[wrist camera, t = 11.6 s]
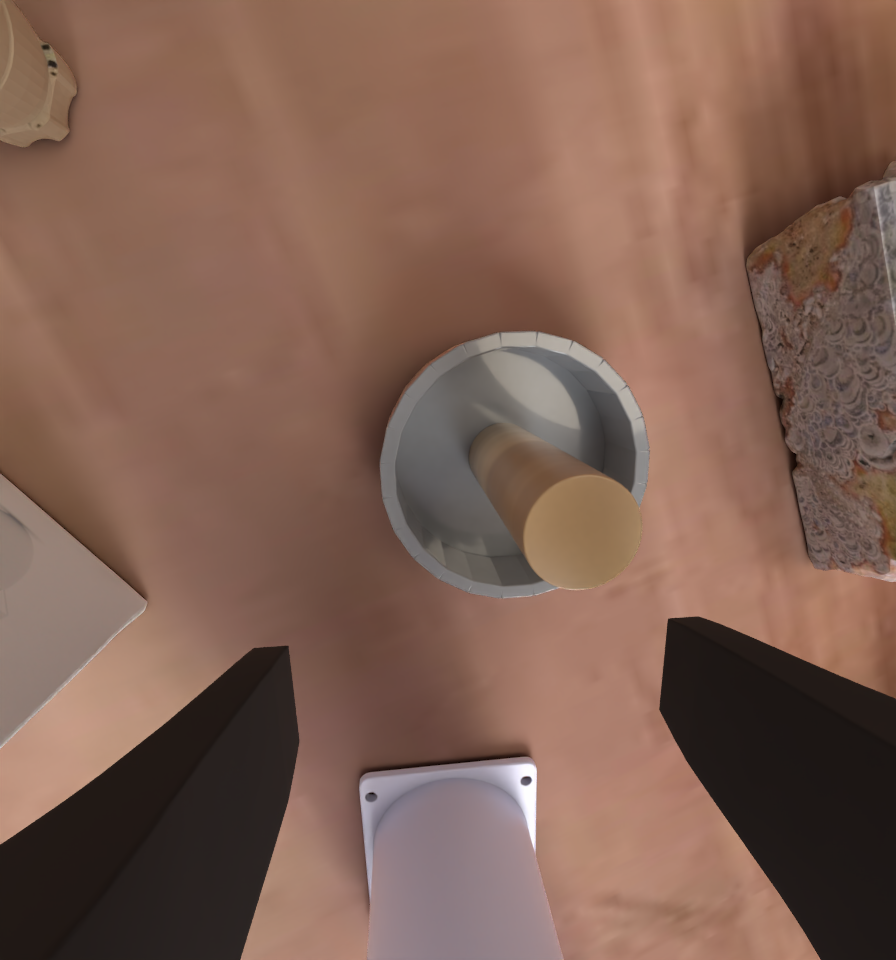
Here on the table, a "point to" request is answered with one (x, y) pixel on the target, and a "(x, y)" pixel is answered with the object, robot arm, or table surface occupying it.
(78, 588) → the cosmetics box
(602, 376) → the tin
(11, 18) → the handle
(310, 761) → the table surface
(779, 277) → the geological specimen
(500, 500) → the stick
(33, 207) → the table surface
